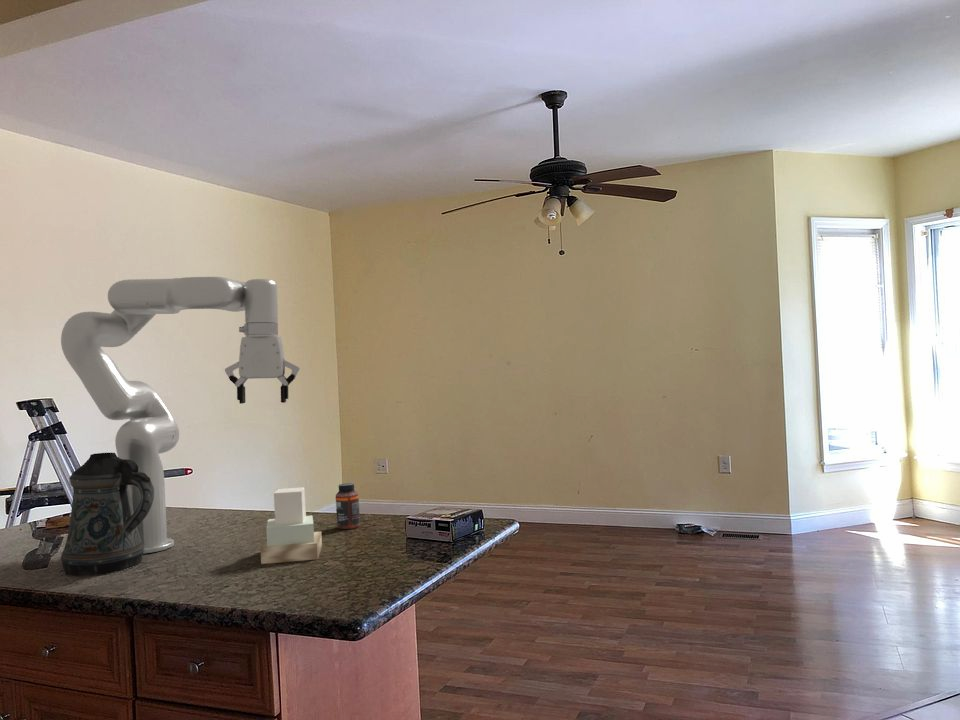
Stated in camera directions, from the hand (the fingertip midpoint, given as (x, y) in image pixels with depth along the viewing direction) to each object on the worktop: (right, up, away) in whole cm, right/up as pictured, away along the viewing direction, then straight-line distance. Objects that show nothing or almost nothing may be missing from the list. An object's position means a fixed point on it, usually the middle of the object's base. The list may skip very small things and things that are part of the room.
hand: (263, 402), depth 177 cm
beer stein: (-30, -36, -12) cm, 48 cm away
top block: (+9, -30, -10) cm, 33 cm away
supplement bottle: (+18, -34, +16) cm, 41 cm away
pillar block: (+9, -26, -10) cm, 29 cm away
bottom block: (+10, -34, -10) cm, 37 cm away
